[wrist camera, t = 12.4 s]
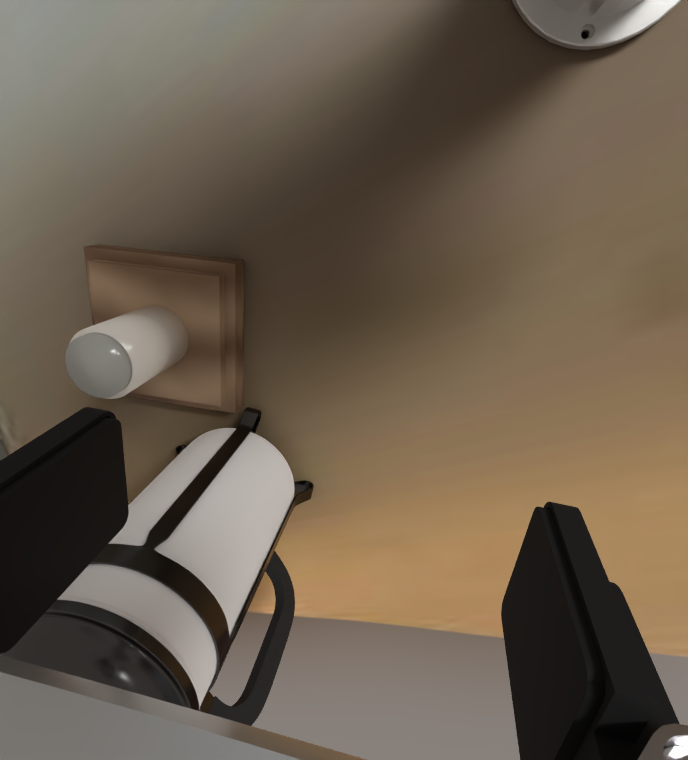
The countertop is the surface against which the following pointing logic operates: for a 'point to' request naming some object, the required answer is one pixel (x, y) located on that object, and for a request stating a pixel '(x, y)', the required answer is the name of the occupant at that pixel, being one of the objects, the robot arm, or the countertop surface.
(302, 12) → the countertop surface
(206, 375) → the plinth
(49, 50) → the countertop surface
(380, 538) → the countertop surface
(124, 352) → the canister
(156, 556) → the coffee press
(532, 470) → the countertop surface
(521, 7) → the robot arm
